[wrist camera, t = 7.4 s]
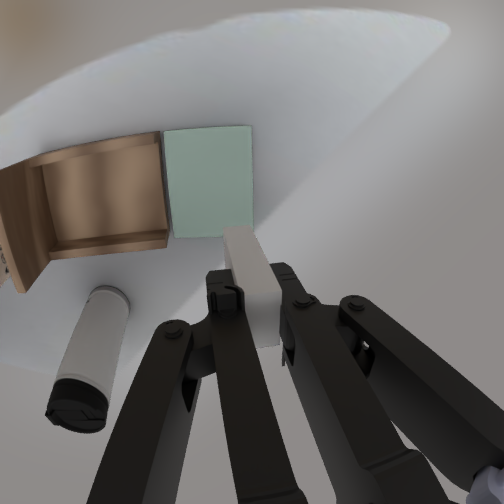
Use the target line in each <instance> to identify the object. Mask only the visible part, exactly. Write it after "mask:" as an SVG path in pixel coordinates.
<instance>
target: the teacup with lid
mask: <svg viewBox="0 0 504 504" xmlns="http://www.w3.org/2000/svg"><path fill="white" fill-rule="evenodd" d="M10 275H11V274H10V272H9V269H8V266H7V263H6V260H5V257H4V254H3V251H2V248H1V245H0V287H1V286H2V285H3V284H4V282H5V281H6V280H7V279H8V278H9V277H10Z"/></svg>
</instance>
